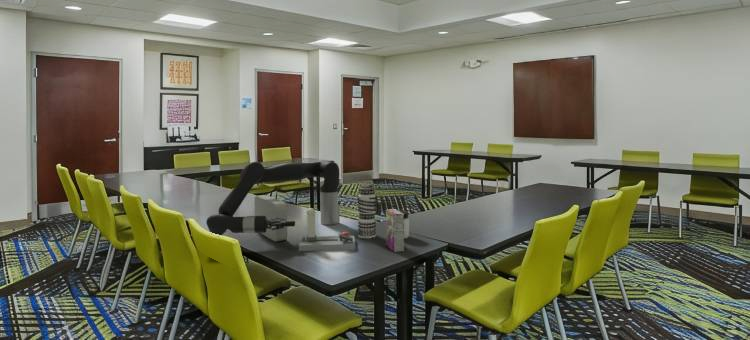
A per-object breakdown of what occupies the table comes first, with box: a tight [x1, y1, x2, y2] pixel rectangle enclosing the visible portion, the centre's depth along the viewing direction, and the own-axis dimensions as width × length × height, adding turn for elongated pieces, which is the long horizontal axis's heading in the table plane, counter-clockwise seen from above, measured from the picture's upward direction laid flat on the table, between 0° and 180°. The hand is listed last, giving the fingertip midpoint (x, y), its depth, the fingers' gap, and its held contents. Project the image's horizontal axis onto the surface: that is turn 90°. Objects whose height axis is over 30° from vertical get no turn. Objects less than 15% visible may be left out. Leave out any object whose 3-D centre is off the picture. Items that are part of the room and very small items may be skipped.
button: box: [341, 231, 351, 237], centre depth 212 cm, size 4×4×2 cm
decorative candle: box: [357, 183, 377, 239], centre depth 223 cm, size 9×9×25 cm
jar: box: [397, 209, 410, 240], centre depth 222 cm, size 9×8×12 cm
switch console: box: [298, 235, 356, 252], centre depth 208 cm, size 24×14×4 cm, turn 94°
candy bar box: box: [385, 208, 405, 253], centre depth 202 cm, size 11×5×16 cm, turn 17°
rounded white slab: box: [254, 194, 288, 243], centre depth 226 cm, size 29×8×18 cm, turn 34°
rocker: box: [338, 233, 353, 241], centre depth 204 cm, size 6×4×2 cm, turn 95°
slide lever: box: [306, 207, 317, 241], centre depth 206 cm, size 4×4×14 cm
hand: (294, 223), depth 206 cm, fingers closed
